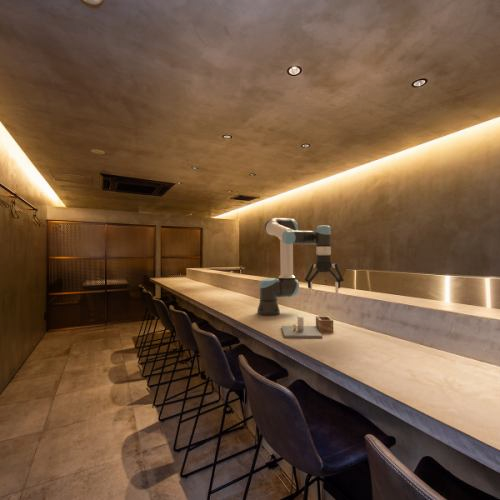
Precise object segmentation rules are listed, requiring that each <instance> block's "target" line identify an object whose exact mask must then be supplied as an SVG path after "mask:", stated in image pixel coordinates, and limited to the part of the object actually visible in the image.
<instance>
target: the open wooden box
mask: <svg viewBox="0 0 500 500" xmlns="http://www.w3.org/2000/svg"><path fill="white" fill-rule="evenodd" d="M315 327H316V328H317V329H318V331H319V332H320V333H334V319H332V317H330V316H329V315H315Z"/></svg>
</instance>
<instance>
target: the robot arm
mask: <svg viewBox="0 0 500 500" xmlns="http://www.w3.org/2000/svg"><path fill="white" fill-rule="evenodd" d="M263 229H264V232H265V233H266V234H267V235H269V236H274V237H276V238H278V239H279V243H280V245H279V247H280V252H279V253H280V275H279V276H278V278H276V277H268V278H264V279H261V280H259V281H260V282H259V303H258V306H257V311H256V312H257V313H256V314H257V315H259V316H265V317H267V316H277V315H280V312H281V309H280V306H279V303H278V298H291V297H295V296H297V294H298V293H299V289H300V284H299V283H300V282H299V280H298V279H296V276H295V275H294V251H293V250H294V249H293V248H294V246H293V245H315V246H316V250H315V251H316V262H315V263H310V265H309V270H308V271H307V273H306V275H305V278H304V281H305V282H307V288H308V289H309V295H311V296H313V282H312V281H313V280H314V278H315V277H316V276H317V275H318V274H319V273H329V274H330V275H331V277H332V278H333V279H334V280H335V282H334V283H335V285H334V286H335V287H334V288H335V293H334V294H335V295H337V296H339V289H341V282H344V278H343V276H342V274H341V272H340V270H339V268H338V264H337V263H332V255H331V254H332V232H331V226H329V225H317V226H316V229H315V230H299V226H298V223H297V221H296V220H295V219H294V218H289V217H271V218H269V219H267V220H266V221H265V222H264V226H263ZM315 268H316V270H315V271H314V272H313V270H314V269H315ZM331 268H333V269H334V272H333V271H332V269H331ZM312 272H313V274H312ZM335 273H336V274H335ZM311 274H312V275H311Z"/></svg>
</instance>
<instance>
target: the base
mask: <svg viewBox="0 0 500 500" xmlns="http://www.w3.org/2000/svg"><path fill="white" fill-rule="evenodd" d="M304 318H305V317H304V316H297V324H296V323H294V324H293V325H281V331H282V334H283V338H284V339H323V335H322V334H321V333H322V332H319V330H318V329H317V328H316V325H304V323H305V321H304Z"/></svg>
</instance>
